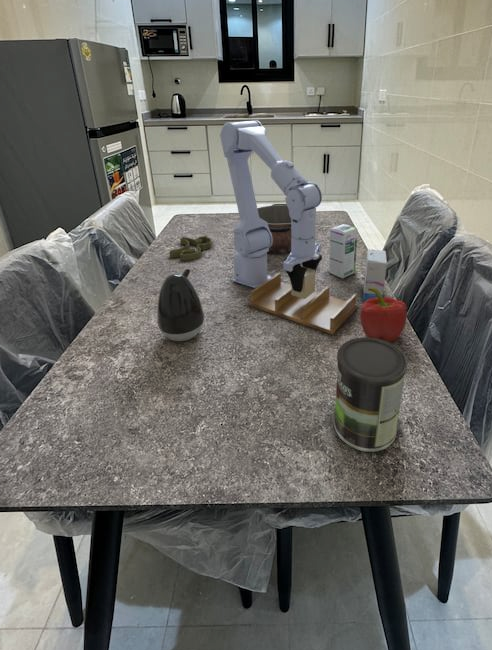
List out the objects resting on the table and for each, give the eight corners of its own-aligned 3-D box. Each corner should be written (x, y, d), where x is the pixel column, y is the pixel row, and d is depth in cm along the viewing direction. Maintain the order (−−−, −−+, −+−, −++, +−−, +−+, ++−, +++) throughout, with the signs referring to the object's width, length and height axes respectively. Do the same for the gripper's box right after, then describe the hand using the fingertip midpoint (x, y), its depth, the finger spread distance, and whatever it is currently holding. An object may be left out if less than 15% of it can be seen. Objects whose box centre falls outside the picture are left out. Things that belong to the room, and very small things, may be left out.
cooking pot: (254, 228, 154) (253, 202, 150) (310, 228, 152) (310, 202, 148) (242, 258, 127) (240, 227, 122) (310, 259, 125) (310, 228, 121)
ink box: (383, 304, 99) (387, 262, 94) (363, 302, 100) (366, 261, 95) (381, 288, 106) (385, 249, 102) (363, 287, 107) (366, 248, 102)
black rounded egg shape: (214, 325, 91) (208, 267, 85) (191, 351, 82) (182, 289, 76) (177, 318, 94) (168, 262, 88) (150, 342, 85) (139, 282, 79)
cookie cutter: (183, 240, 143) (183, 235, 142) (215, 240, 142) (214, 235, 141) (166, 260, 126) (165, 254, 126) (202, 260, 125) (201, 255, 125)
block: (291, 295, 96) (291, 273, 93) (301, 287, 100) (301, 266, 97) (304, 299, 94) (305, 277, 91) (314, 290, 98) (315, 269, 95)
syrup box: (342, 279, 112) (345, 232, 106) (327, 272, 116) (329, 227, 110) (355, 273, 115) (358, 227, 110) (340, 267, 119) (342, 222, 114)
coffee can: (341, 455, 58) (346, 383, 53) (328, 404, 68) (331, 338, 62) (407, 450, 59) (419, 378, 53) (384, 400, 68) (392, 334, 63)
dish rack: (249, 305, 99) (248, 292, 98) (279, 284, 110) (278, 271, 108) (332, 335, 87) (333, 320, 85) (357, 307, 97) (358, 293, 96)
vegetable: (347, 327, 89) (350, 289, 85) (384, 317, 93) (388, 280, 89) (376, 354, 80) (380, 313, 76) (415, 341, 84) (421, 302, 80)
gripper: (302, 248, 83) (301, 303, 88) (332, 229, 94) (330, 278, 99) (275, 242, 87) (276, 295, 92) (307, 224, 98) (306, 272, 103)
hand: (302, 286), depth 96 cm, fingers closed on block, 5 cm apart
